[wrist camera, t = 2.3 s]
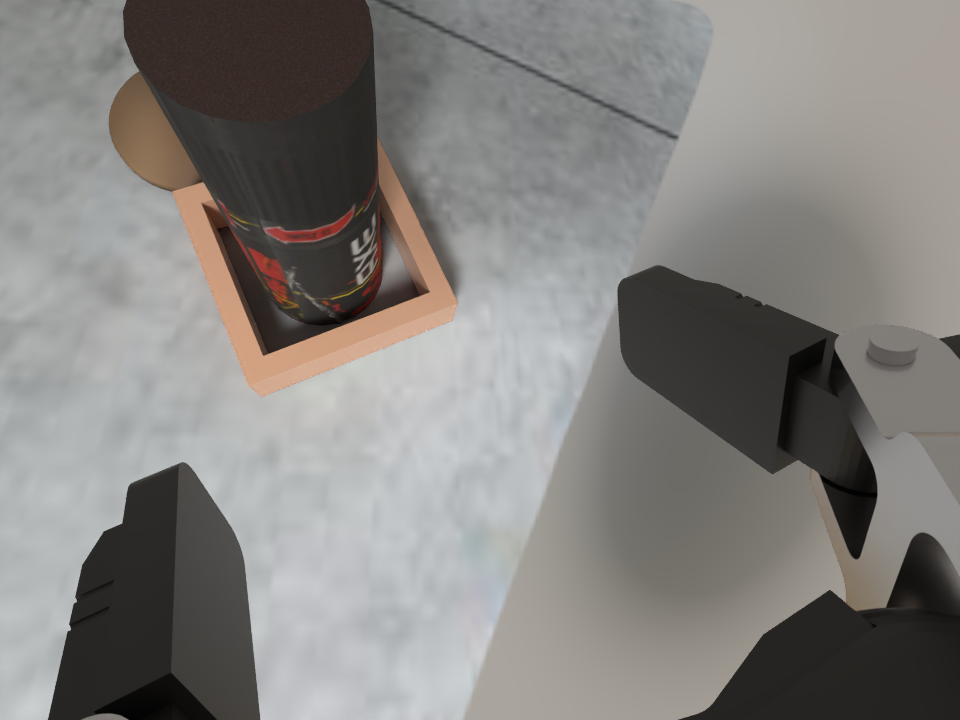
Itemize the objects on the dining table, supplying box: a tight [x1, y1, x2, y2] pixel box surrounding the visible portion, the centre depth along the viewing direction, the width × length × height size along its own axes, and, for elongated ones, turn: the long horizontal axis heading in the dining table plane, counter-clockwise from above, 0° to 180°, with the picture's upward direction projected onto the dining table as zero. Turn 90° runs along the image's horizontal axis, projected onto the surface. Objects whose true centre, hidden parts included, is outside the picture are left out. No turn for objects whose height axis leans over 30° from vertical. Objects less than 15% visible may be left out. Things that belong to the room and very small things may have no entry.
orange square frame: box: [172, 136, 458, 397], centre depth 27 cm, size 10×10×2 cm
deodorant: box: [123, 0, 382, 325], centre depth 21 cm, size 6×6×15 cm
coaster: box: [109, 71, 203, 192], centre depth 29 cm, size 8×8×1 cm
